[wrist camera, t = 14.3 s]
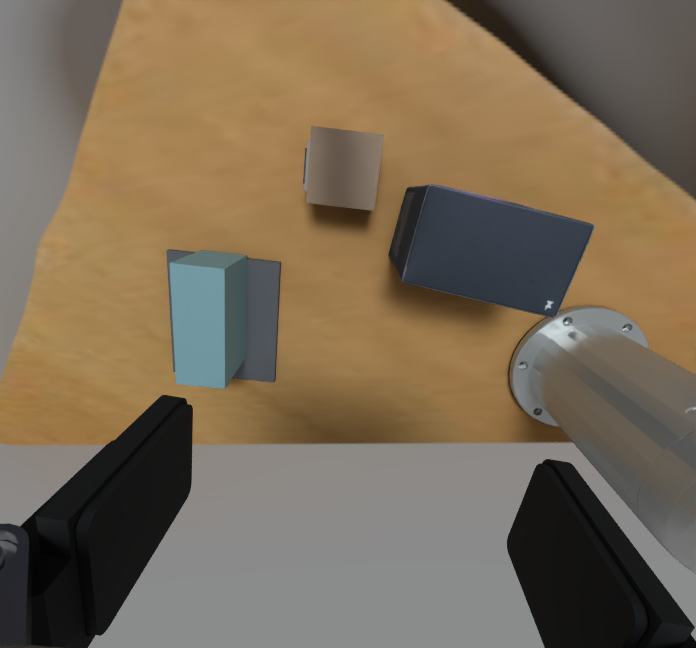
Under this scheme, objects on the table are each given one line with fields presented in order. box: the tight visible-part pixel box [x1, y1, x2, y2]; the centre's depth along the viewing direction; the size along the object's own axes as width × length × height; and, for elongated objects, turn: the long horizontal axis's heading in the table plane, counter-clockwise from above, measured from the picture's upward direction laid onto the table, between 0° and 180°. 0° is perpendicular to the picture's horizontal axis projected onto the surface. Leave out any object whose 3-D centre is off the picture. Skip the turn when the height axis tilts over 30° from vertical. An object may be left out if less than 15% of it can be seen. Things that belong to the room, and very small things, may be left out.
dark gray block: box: [167, 249, 281, 382], centre depth 35 cm, size 10×12×1 cm
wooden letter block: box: [303, 126, 384, 211], centre depth 29 cm, size 5×5×5 cm
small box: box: [389, 184, 595, 318], centre depth 27 cm, size 11×6×10 cm, turn 77°
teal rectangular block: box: [170, 250, 247, 389], centre depth 32 cm, size 4×10×6 cm, turn 174°
